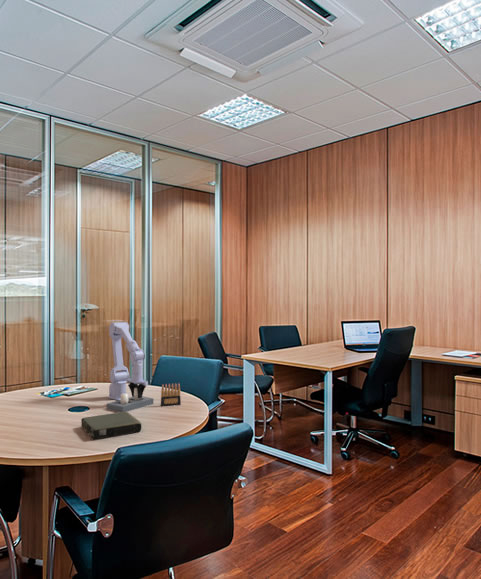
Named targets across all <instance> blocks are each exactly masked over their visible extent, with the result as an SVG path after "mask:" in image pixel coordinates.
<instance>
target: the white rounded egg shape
mask: <svg viewBox="0 0 481 579" xmlns="http://www.w3.org/2000/svg"><path fill="white" fill-rule="evenodd" d="M139 400H141V398H138V391H137V388H134V401H139Z"/></svg>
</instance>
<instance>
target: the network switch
mask: <svg viewBox="0 0 481 579" xmlns="http://www.w3.org/2000/svg"><path fill="white" fill-rule="evenodd" d="M80 426H81V428H82V429H83V430H84V431H85V432H86V434H87V433H88V435H89V436H90V437H91V438H92V439H93V440H94V441H97V440H101V439H106V438H107V439H108V438H112V437H116V436H123V435H124V436H125V435H131V434H139V432H140V433H141V430H142V423H141V421H140V420H138V418H136V417H135V416H133V415H132V414H131V413H129V411H127V412H113V413H108V414H107V413H106V414H99V415H93V416H92V415H91V416H87V417H82V418H81V421H80Z"/></svg>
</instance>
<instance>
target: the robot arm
mask: <svg viewBox="0 0 481 579" xmlns="http://www.w3.org/2000/svg"><path fill="white" fill-rule="evenodd" d="M108 331H109V333H108V334H109V337H110V338H111V346H112V355H113V356H112V357H113V364H114V365H113V367H112V368H111V369H110V371H109V374H110V375H109V380H110V382H111V383H110V385H109V386H108V388H109V389H108V395H109V396H108V397H107V399H111V400H114V401H115V400H116V401H119V400H121V394H122V393H127V386H128V388H129V391H130V393H131V397H134V388H137V391H138V398H142V396H143V394H144V392H145V389H146V388H147V386H149V381H147V380H145V379H144V378H143V377H144V376H143V370H144V369H143V368H144V366H143V365H144V364H143V362H144V360H145V359H146V355H145V354H146V353H145V350H144V349H142V348H140V347H139V345H138V343H137V341H136V340H134V339H133V338H132V335H131V333H130V325H129V323H128V322H127V321H123V322H122V321H121V322H120V321H118V322H110V323H109V327H108ZM122 338H123V340H124V341H125V342H126V344H125V347H126V349H127V351H128V352H129V359H130V363H131V378H130V373H129V369H128V367H126V366H125V365H124V358H123V357H124V356H123V348H122ZM128 398H130V396H128Z"/></svg>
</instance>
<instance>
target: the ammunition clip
mask: <svg viewBox="0 0 481 579" xmlns="http://www.w3.org/2000/svg"><path fill="white" fill-rule="evenodd" d="M177 383H178V384H177ZM177 383H176V382H175V383H173V382H172V383H171V384H170V383H168V385H167V383H165V386H164V384H161V392H160V393H161V395H160V407H173V406H174V405H175V406H181V403H182V402H181V400H182V399H181V386H180V383H179V382H177Z"/></svg>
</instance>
